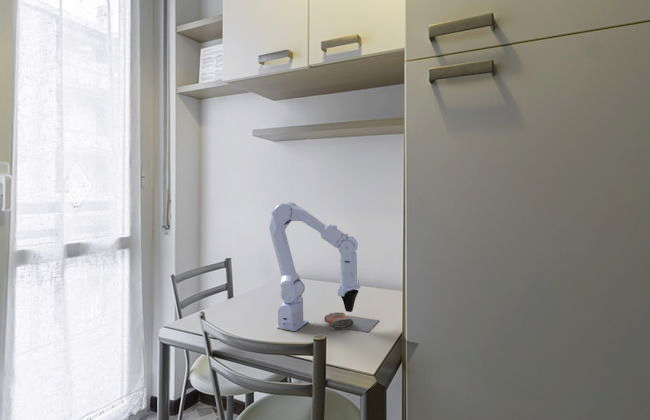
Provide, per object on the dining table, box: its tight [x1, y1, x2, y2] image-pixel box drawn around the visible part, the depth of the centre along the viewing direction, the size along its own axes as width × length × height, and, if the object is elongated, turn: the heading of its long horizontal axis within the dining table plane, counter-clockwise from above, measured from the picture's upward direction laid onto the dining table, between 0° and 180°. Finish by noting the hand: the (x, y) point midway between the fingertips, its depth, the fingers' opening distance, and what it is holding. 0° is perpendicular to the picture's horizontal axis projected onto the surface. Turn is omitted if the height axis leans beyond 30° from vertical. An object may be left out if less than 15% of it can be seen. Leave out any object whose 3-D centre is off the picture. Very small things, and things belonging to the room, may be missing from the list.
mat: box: [345, 314, 380, 333], centre depth 134 cm, size 12×14×1 cm
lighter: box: [323, 312, 353, 330], centre depth 132 cm, size 8×3×10 cm
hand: (349, 311), depth 128 cm, fingers closed
